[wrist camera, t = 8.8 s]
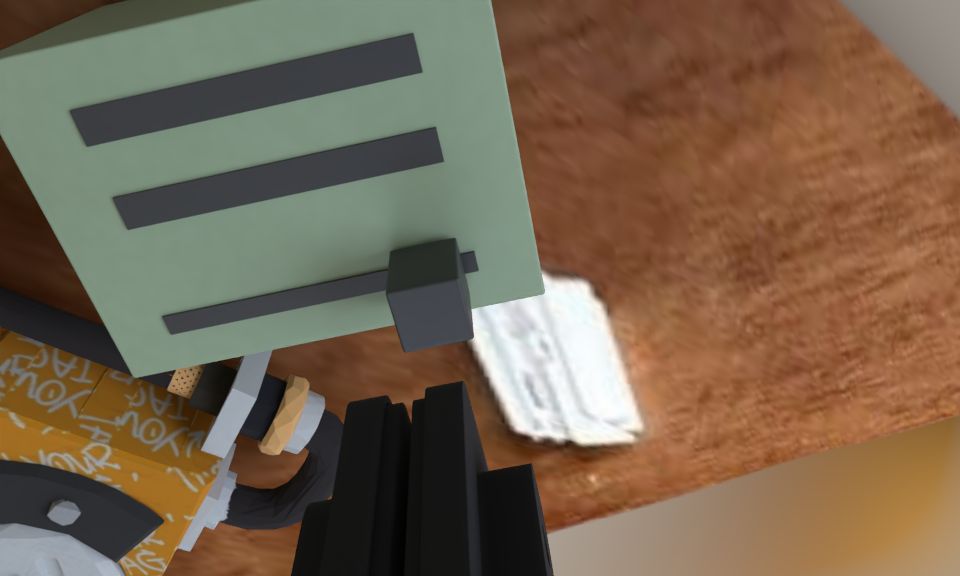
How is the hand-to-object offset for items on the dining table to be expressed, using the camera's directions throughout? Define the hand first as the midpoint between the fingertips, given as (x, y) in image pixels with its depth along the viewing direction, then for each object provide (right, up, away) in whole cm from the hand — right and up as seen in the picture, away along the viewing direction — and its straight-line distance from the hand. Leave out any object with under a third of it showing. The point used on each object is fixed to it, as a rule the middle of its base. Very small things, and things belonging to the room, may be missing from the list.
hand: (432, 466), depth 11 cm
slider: (-1, +3, +16) cm, 16 cm away
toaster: (-7, +11, +24) cm, 27 cm away
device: (-23, -4, +32) cm, 40 cm away
